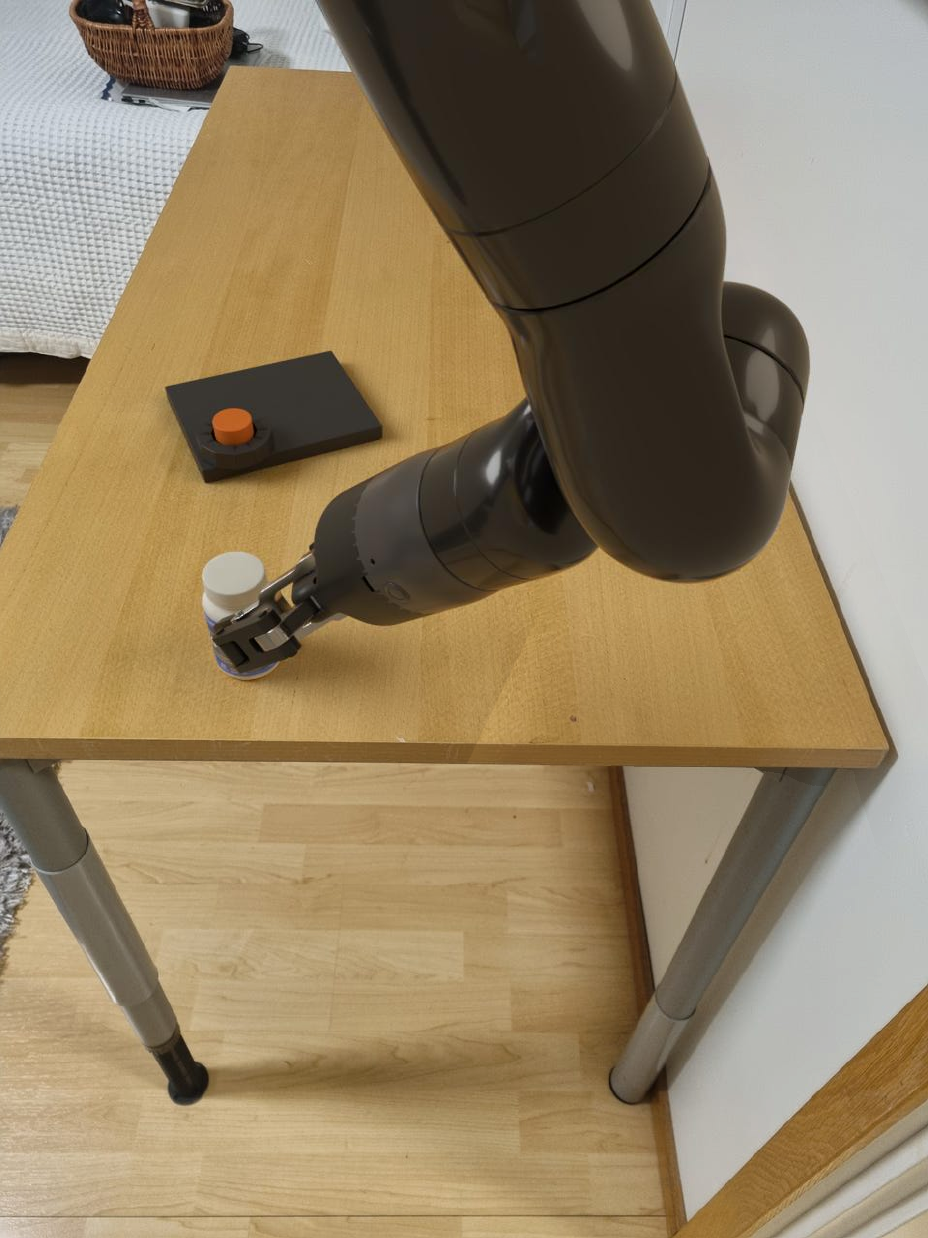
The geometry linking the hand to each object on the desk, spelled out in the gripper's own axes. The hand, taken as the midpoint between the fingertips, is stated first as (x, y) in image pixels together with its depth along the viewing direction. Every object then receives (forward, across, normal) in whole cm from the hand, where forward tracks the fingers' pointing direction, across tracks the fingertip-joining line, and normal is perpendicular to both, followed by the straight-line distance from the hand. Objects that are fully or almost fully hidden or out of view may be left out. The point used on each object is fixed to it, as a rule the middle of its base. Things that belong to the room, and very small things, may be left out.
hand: (275, 596), depth 58 cm
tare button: (+18, -16, -10) cm, 26 cm away
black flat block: (+21, -22, -9) cm, 31 cm away
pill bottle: (+9, 0, +4) cm, 9 cm away
